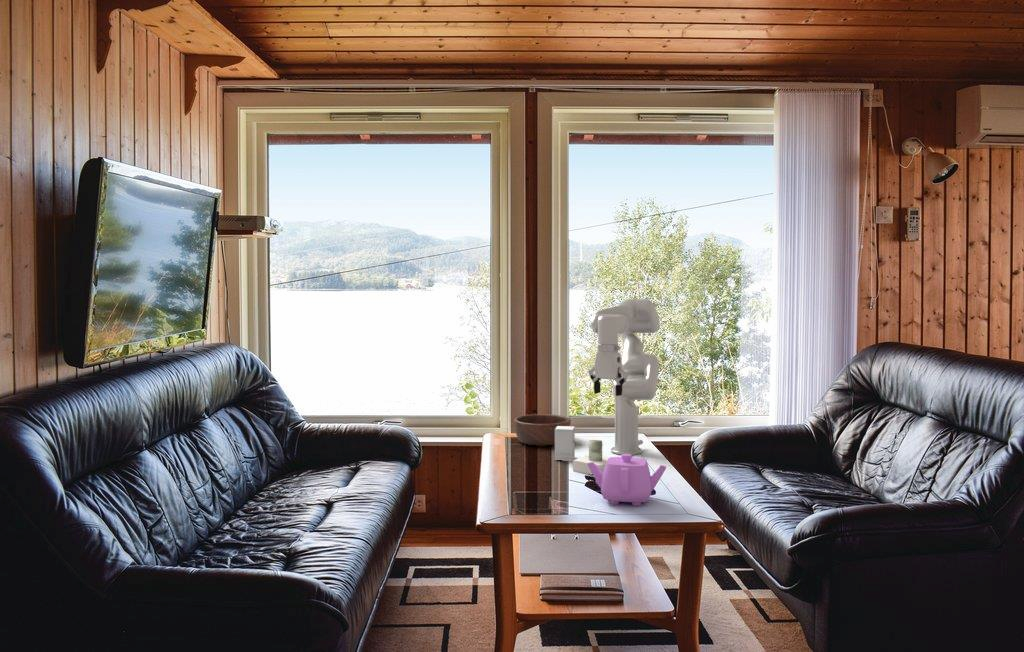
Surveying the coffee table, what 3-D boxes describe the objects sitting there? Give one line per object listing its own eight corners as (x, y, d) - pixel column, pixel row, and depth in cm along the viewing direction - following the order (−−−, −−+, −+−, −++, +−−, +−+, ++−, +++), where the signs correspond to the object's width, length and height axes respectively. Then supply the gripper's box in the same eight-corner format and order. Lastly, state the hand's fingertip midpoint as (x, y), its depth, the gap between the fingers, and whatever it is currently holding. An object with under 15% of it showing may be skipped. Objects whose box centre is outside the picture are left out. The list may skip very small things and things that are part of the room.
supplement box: (572, 461, 293) (572, 429, 292) (554, 460, 294) (554, 429, 294) (575, 457, 300) (575, 426, 300) (556, 456, 302) (556, 425, 301)
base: (591, 464, 287) (591, 454, 287) (618, 470, 279) (618, 459, 279) (573, 470, 278) (573, 460, 278) (599, 476, 270) (599, 465, 270)
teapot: (668, 502, 238) (668, 456, 237) (626, 513, 227) (626, 464, 226) (626, 489, 253) (626, 445, 253) (585, 498, 243) (585, 452, 242)
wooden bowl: (518, 435, 344) (517, 413, 343) (572, 436, 340) (572, 414, 340) (510, 447, 319) (510, 423, 318) (568, 449, 316) (568, 424, 315)
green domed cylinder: (593, 457, 282) (593, 439, 282) (604, 459, 279) (604, 441, 278) (586, 459, 278) (586, 441, 278) (597, 462, 275) (597, 443, 275)
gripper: (633, 349, 276) (633, 395, 277) (594, 346, 287) (594, 390, 288) (621, 350, 270) (621, 397, 271) (583, 348, 282) (583, 393, 283)
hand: (607, 394), depth 280 cm, fingers open, 9 cm apart
